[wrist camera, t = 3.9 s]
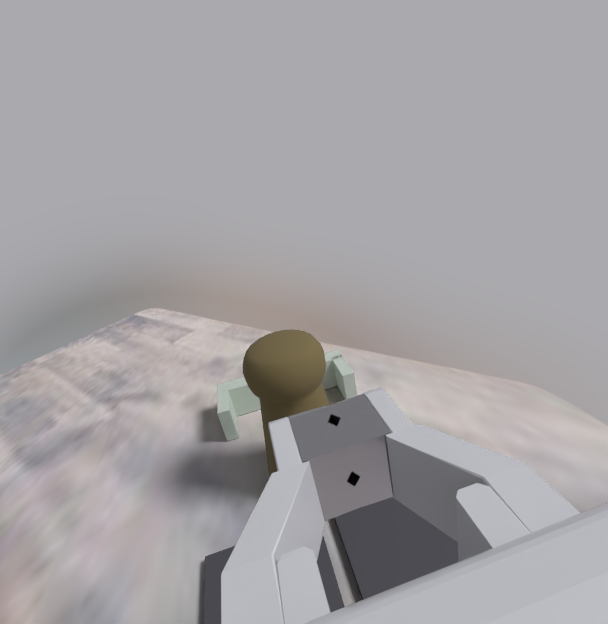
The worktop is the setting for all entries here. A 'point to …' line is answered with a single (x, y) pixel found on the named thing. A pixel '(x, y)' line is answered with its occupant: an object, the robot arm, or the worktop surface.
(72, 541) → the worktop surface
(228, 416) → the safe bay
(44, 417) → the worktop surface
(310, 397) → the cork
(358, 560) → the trap squares
